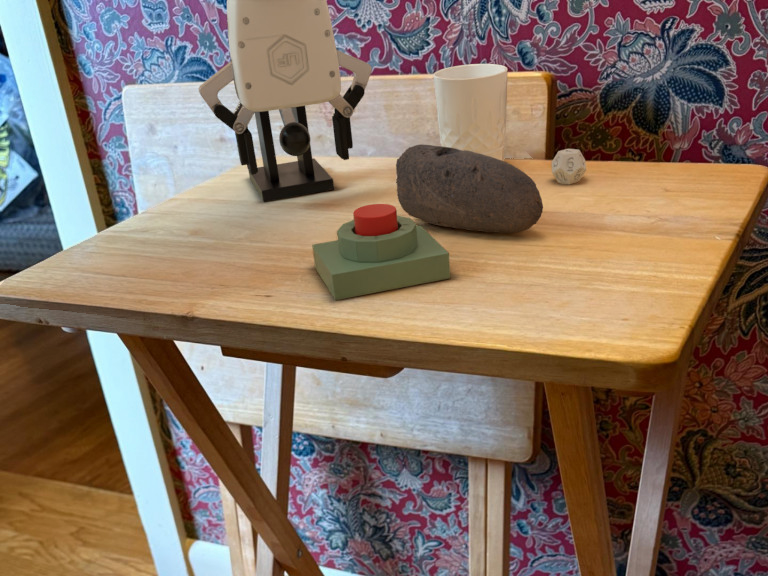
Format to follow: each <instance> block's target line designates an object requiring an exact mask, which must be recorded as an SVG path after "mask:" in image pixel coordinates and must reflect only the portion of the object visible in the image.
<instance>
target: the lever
mask: <svg viewBox="0 0 768 576" xmlns="http://www.w3.org/2000/svg"><path fill="white" fill-rule="evenodd" d="M278 112H279V114H280V118H281V122H282V124H283V127H282V128H281V129H280V132H279V135H278V136H279V137H278V138H279V139H278V141H279V144H280V147H281V149H282V150H283V151H284V153H286V154H287V155H289V156H292V157H297V156H300V155H302V154H304V153H305V152H306V151H307V150H308V148H309V146H310V145H311V135H310V131H309V129H308V130H307V129H306V127H305V126H303V125H302V124H300V123H297V122H295V119H294V116H293V113H292V110H291V108H285V109H278ZM308 131H309V132H308Z"/></svg>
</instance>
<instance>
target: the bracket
mask: <svg viewBox="0 0 768 576" xmlns="http://www.w3.org/2000/svg"><path fill="white" fill-rule="evenodd" d="M291 110H292V113H293V116H294V119H295V122H297V123H300V124H302V125H303V126H305V127H306V129H307V130H308V132H309V133H310V131H309V124H308V117H307V111H306V106H299V107H292V108H291ZM254 118H255V123H256V129H257V136H258V142H259V147H260V153H261V160H262V165H263V166H257V168H258V172H257V173H256V174H254V175H251V173H250V172H249V171H248V175H249V180H250V182H251V183H252V185H253V186H254V189H255V190H256V191H257V193H258V195H259V196H260V198H261V200H262V201H263V202H264V203H265V202H270V201H276V200H283V199H287V198H289V199H290V198H294V197H299V196H306V195H313V194H317V193H324V192H329V191H335V184H334V179H333V177H332V176H331V174H329V173H328V172H327V170H325V169H324V167H323V166H322V165H321V164H320V163H319V162H318V161H317V160H316V158H313V153H312V148H311V147H312V146H311V144H310V146H309V148H308V150H307V151H306V152H305V153H304V154H302V155H300V156H296V158H297V159H296V160H295V161H289V162H283V163H278V162H277V161H278V160H277V155H276V151H275V150H276V149H275V143H274V137H273V130H272V124H271V118H270V111H262V112H256V111H255V113H254Z"/></svg>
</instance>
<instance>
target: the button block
mask: <svg viewBox="0 0 768 576" xmlns="http://www.w3.org/2000/svg"><path fill="white" fill-rule="evenodd" d="M397 222H398V230H397V231H395V232H392V233H390V234H385V235H380V236H361V235H357V234H356V233H355V224H354V219H353V220H350V221H348V222H345V223H343V224H342V225H341V226H340V227H339V228H338V229H337V230H336V236H337V240H330V241H326V242H320V243H315V244H314V243H313V244H312V245H311V247H312V253H313V261H314V267H315V268H314V269H315V270H316V272H317V273H318V275H319V277H320V278H321V280H322V282H323V283H324V284H325V286H326V288H327V289H328V291H329V293H330V294H331V296H332V297H333V299H334V300H335V301H340V300H345V299H350V298H354V297H355V298H356V297H359V296H366V295H371V294H375V293H380V292H385V291H392V290H396V289H397V290H398V289H403V288H408V287H413V286H418V285H422V284H428V283H433V282H438V281H444V280H448V279H451V268H450V253H449V252H448V251H447V250H446V249H445V248H444V247H443V246H442V245H441V244H440V242H438V240H436V239H435V238H434V237H433V236H432V235H431V234H430V233H429V232H428V231H427V230H426V229H425V228H424V227H422V226H421V225H417V224H416V222H414V220H413V219H412V218H411V217H407V216H402V215H398V214H397Z"/></svg>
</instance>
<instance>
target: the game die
mask: <svg viewBox="0 0 768 576" xmlns="http://www.w3.org/2000/svg"><path fill="white" fill-rule="evenodd" d="M550 164H551V174H552V175H553V177H554V178H555V181H556V182H557V184H563V185H572V184H576V183H579V182H580V181H581V180H582V178H583V176H584V175H585V174H586V171H587V163H586V159H585V157H584V156H583V154H582V152H581V149H578V148H577V149H575V148H565V149H561V150H558V151H557V153H556V154H555V156H554V158H553V159H552V161H551V163H550Z"/></svg>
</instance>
